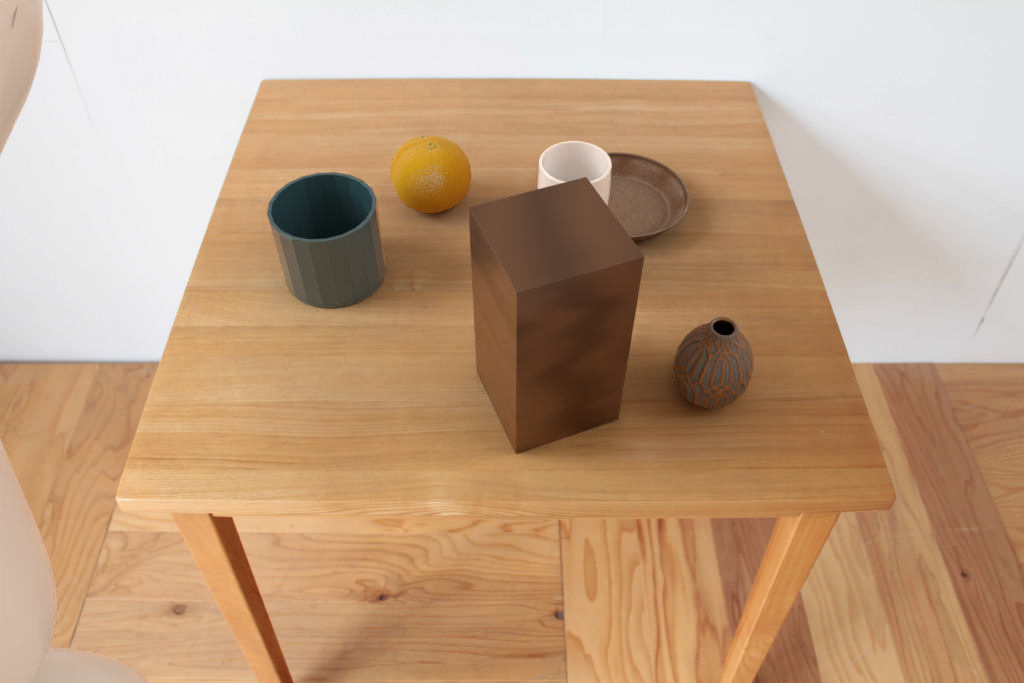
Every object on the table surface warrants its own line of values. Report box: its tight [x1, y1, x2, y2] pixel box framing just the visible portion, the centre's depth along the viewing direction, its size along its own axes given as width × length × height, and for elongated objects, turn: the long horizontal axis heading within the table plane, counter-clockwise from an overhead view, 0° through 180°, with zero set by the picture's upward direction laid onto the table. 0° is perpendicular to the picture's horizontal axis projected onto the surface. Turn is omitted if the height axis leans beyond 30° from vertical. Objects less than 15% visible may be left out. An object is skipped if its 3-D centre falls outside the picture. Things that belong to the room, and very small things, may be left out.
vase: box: [672, 316, 755, 409], centre depth 76 cm, size 7×7×9 cm
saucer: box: [606, 151, 690, 242], centre depth 95 cm, size 15×15×3 cm
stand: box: [468, 177, 645, 455], centre depth 71 cm, size 10×10×20 cm
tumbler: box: [266, 171, 387, 309], centre depth 86 cm, size 10×10×9 cm
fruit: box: [389, 134, 472, 214], centre depth 94 cm, size 9×8×8 cm
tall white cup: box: [536, 140, 612, 206], centre depth 83 cm, size 7×7×15 cm
